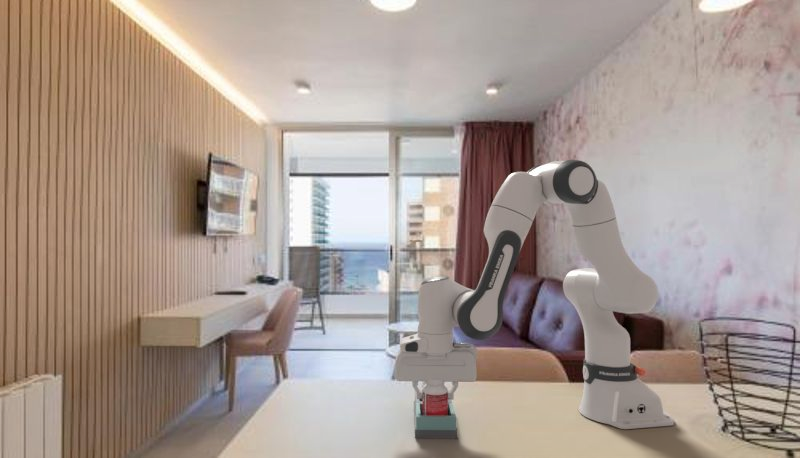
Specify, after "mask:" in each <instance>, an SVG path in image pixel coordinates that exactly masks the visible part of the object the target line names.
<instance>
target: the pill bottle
mask: <svg viewBox="0 0 800 458" xmlns="http://www.w3.org/2000/svg"><path fill="white" fill-rule="evenodd" d="M447 390H448V388H447V386H446V384H445V382H443V381H442V379H430V380H429V381H426V385H424V387H423V415H434V416H448V391H447Z"/></svg>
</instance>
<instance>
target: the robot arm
mask: <svg viewBox="0 0 800 458" xmlns="http://www.w3.org/2000/svg"><path fill="white" fill-rule="evenodd" d="M563 204H564V206H565V208H567V211H568V214H569V221H570V226H571V230H572V235H573V239H574V245H575V249H576V252H577V253H578V254H579V255H580V256H581V257H582V258H583V259H585V261H588V263H589V264H591V266H592V267H584V268H577V269H572V270H570V271H569V272H568V273H567V274H566V275H565V276H564V279H563V282H562V289H563V291H562V292H563V293H564V296H565V298H566V299H567V300H568V301H569V302H570V303H571V304H572V305H573V306H574V308H575V310H576V312H577V314H578V316H579V319H580V321H581V324H582V328H583V334H584V336H583V337H584V358H583V367H582V375H583V376H582V377H583V380H584V382H583V391H582V395H581V396H582V397H581V401H580V405H579V407H578V411H579V413H580V414H581V415H582V416H583V417H585V418H587V419H589V420H591V421H595V422H598V423H602V424H606V425H610V426H612V427H615V428H618V429H621V430H630V429H632V430H634V429H643V428H657V427H670V426H674V424H675V423H674V418H673V417H672V416H671V415H670V414H669V412H666V410H664V407H663V402H662V399H661V397H660V396H659V395H658V393H657V392H656V391H655V390H653V389H652V388H651V387H650V386H649V385H648V384H646V383H645V382H644V381H642V380H641V379H639V377H644V376H645V375H646V374H647V371H646V370H645V369H644V368H643V367H642V366H637V365H635V364H634V363H632V362H631V337H630V333H629V332H628V331H627V329H626V328H625V327H623V326H622V324H620V323H619V322H618V320H617V319H616V317H615V315H614V313H615V312H616V313H620V314H621V313H622V314H628V315H630V314H631V315H632V314H633V315H634V314H646V313H649V312H650V311H651V310H652V309H653V308H654V307H655V306H656V304H657V302H658V299H659V298H658V297H659V290H658V286H657V284H656V283H655V280H654V279H653V278H652V277H651V276H649V275H648V274H646V273H645V272H643V271H642V270H641V269H640V268H639V267H638V266H637V265H636V264H635V263H634V261H633V260H632V259H631V257H630V256H629V254H628V253H627V251H626V249H625V248H624V247H625V246H624V244H623V242H622V238H621V235H620V230H619V226H618V222H617V217H616V212H615V208H614V205H613V202H612V198H611V194H610V192H609V191H608V188H607V186H606V184H605V183H604V182H603V181H601V180H599V179H598V178H597V175H596V172H595V171H594V170H593V167H591V165H590V164H588V163H587V162H585V161H583V160H578V159H568V160H555V161H550V162H548V163H545V164H539V165H536V166H533V167H532V168H531V169H529V170H528V171H515V172H512V173H510V174H509V175H508V176H507V177H506V179H505V180H504V182H503V183H502V184H501V186H500V188H499V189H498V191H497V193H496V194H495V197H494V198H493V200H492V202H491V205H490V207H489V209H488V211H487V215H486V218H485V222H484V226H483V234H484V237H485V239H486V242H487V244H488V245H487V246H488V257H487V260H486V263H485V265H484V268H483V271H482V273H481V277H480V278H479V281H478V284H477V287H476V288H475V289H473V288H468V287H466V286H465V285H462V284H460V283H458V282H456V281H455V280H454V279H452V278H451V277H449V276H446V275H444V276H443V275H442V276H440V275H439V276H433V277H429V278H427V279H425V280H423V281H422V283H420V286H419V289H418V295H417V296H418V297H417V316H418V326H417V332H416V333H414V334H412V335H408V336H405V337H402V338H401V339H400V340H399V350H398V351H397V353H396V357H395V363H394V374H393V376H394V379H395V380H396V381H397V382H411V383H412V388H413V389H414V392H415V391H416V392H417V399H423V390H422V389H420V388H419V382H422V381H429V380H430V379H442V381H443V382H444V383H446V382H447V383H448V382H449V383H451V388H450V389H447V391H448V400H452V401H453V400H454V393H455V392H456V390H457V389H458V387H459V383H473V382H475V381H476V379H477V378H478V376H477V375H478V374H477V366H476V360H477V359H478V348H477V347H476V345H474V344H472V343H471V342H454V328H456V327H457V328H460V330H461V332H462V333H464V335H465V336H466V337H468V338H470V339H473V340H476V341H485V340H487V339H491V337H494V336H495V335H496V334H497V333H498V331H499V330H501V326H502V324H503V319H504V299H505V295H506V293H507V290H508V287H509V284H510V282H511V279H512V276H513V272H514V270H515V267H516V265H517V261H518V259H519V256H520V253H521V249H522V247H523V245H524V242H525V240H526V238H527V236H528V234H529V231H530V229H531V227H532V225H533V222H534V220H535V217H536V215H537V212H538V210H539V209H540V207H541V206H542V205H550V206H551V205H555V206H556V205H557V206H558V205H563ZM638 375H639V377H638Z"/></svg>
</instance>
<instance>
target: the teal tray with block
mask: <svg viewBox="0 0 800 458" xmlns="http://www.w3.org/2000/svg"><path fill="white" fill-rule="evenodd" d="M424 385H426V381H421V390H423V387H424ZM413 416H414V417H413V418H414V419H413V423H414V438H415V439H458V427H457V416H456V410H455V407H454V404H453V400H448V416H434V415H423V399H417V392H416V391H415V390H414V401H413Z"/></svg>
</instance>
